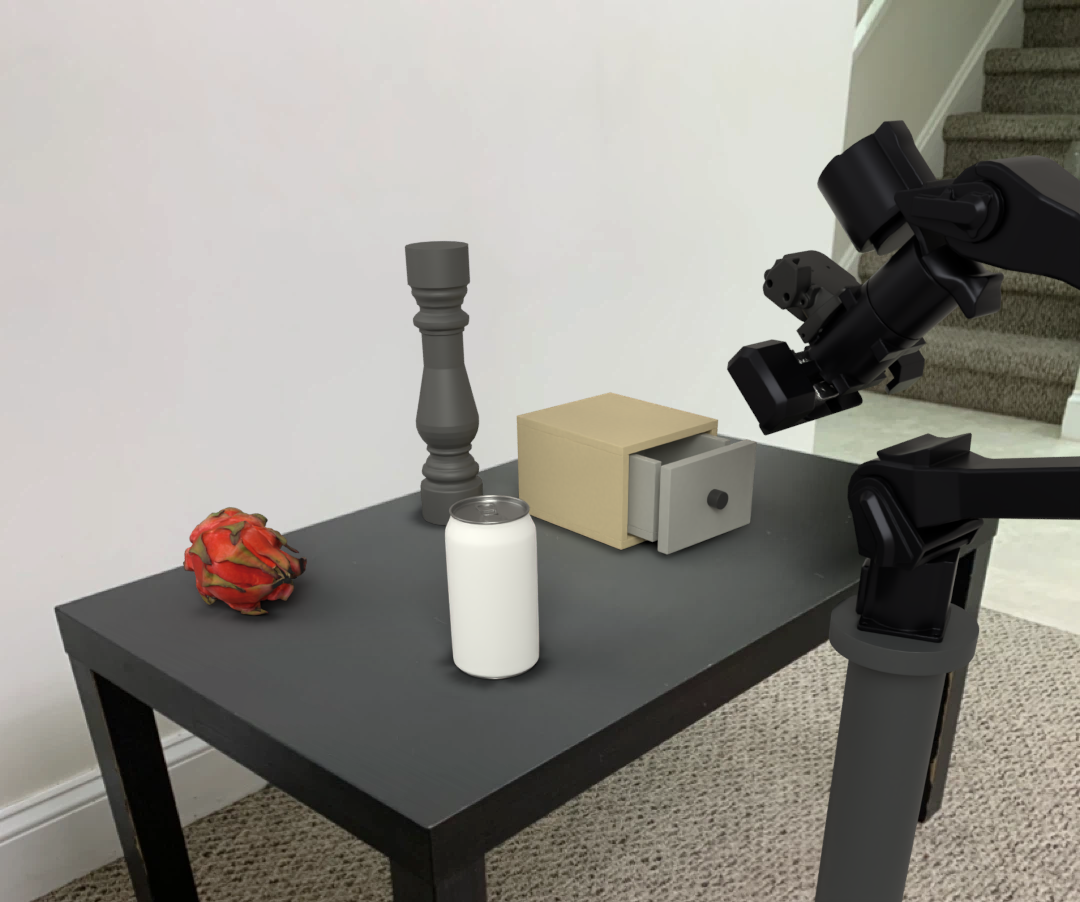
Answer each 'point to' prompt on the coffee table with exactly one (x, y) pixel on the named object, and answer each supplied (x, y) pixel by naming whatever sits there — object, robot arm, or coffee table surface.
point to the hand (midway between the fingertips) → (764, 429)
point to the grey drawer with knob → (690, 490)
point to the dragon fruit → (241, 561)
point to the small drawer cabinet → (593, 459)
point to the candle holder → (443, 376)
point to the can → (493, 586)
